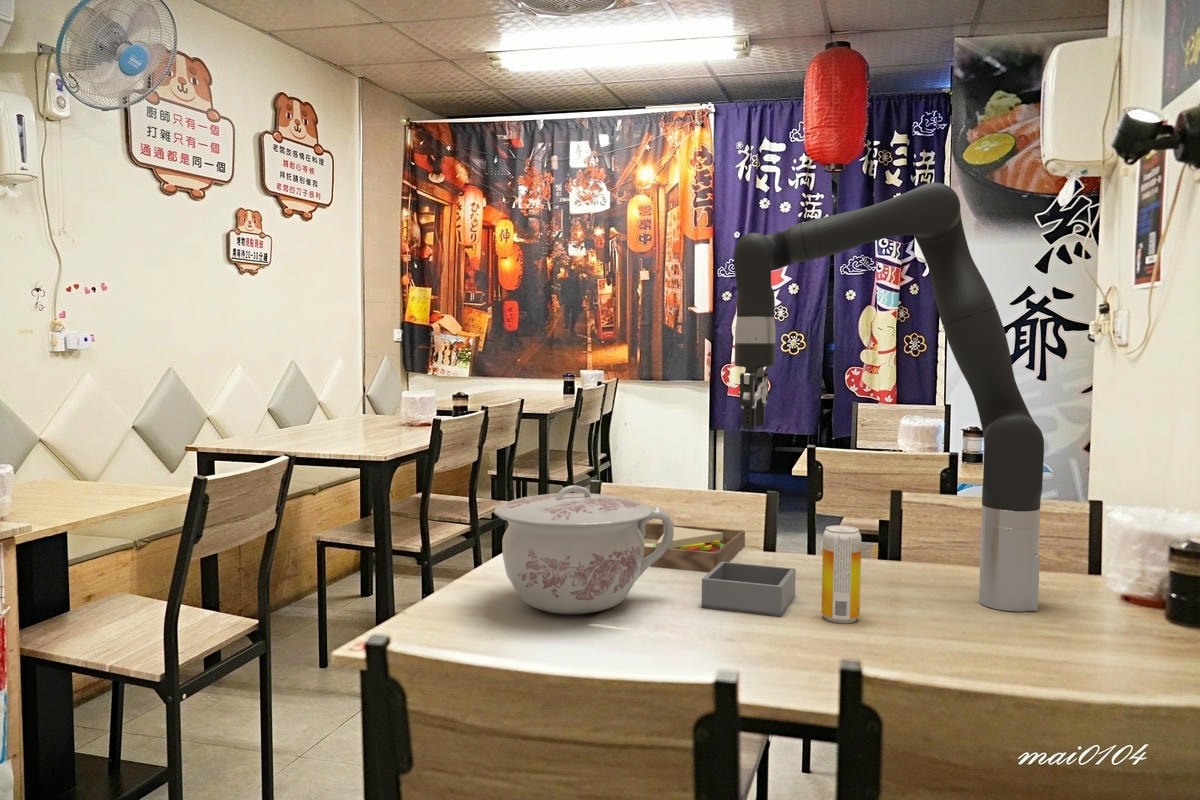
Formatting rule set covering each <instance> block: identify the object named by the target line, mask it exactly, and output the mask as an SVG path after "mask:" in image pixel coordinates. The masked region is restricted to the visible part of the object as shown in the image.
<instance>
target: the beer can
mask: <svg viewBox="0 0 1200 800" xmlns="http://www.w3.org/2000/svg"><path fill="white" fill-rule="evenodd" d="M821 565H822V566H821V567H822V568H821V572H822V573H821V575H822V576H821V578H822V579H821V614H822V615H823V616H824V619H825V620H826V621H828V622H832V623H836V624H852V623H855V622H856V621H857V619H858V618H859V617H860V614H861V613H860V609H861V608H860V607H861V577H862V576H861V574H862V571H861V570H862V566H861V565H862V535H861V533H860V529H859V528H857V527H855V526H850V525H828V526H826V527H825V530H824V532H823V534H822V564H821Z"/></svg>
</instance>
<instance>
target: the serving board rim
mask: <svg viewBox="0 0 1200 800" xmlns="http://www.w3.org/2000/svg"><path fill="white" fill-rule="evenodd" d="M673 527H680V528H688V529H696V530H705V531H713V532H721V533H723V540H720V543H721V544H723V546H722V547H720V549H719V550H717V551H716V552H704V551H693V550H682V549H672V548H668V549H667V550H666V552H665V553H664V554H663V556H662V557H661V558H659V559H658V560H657V561H655V562H654V563H653V564H652V565H650V566H651V567H650V568H658V569H659V568H660V569H672V570H681V571H682V570H683V571H691V572H692V571H693V572H701V573H709V572H710V571H711V570H712V569H714V568H715V567H716V566H717V565H718V564H719V563H720V562H732V560H733V559H734V558H735V557H736V556H738V554H739V553H740V552H741V551H742V550H743V549H744V548H745V547H746V530H744V529H741V530H740V529H729V528H717V527H706V526H705V527H704V526H695V525H694V526H693V525H692V526H691V525H681V524H673ZM663 533H664V525H663V523H655V522H647V523H646V525H645V535H646V536H645V537H644V539H645V540H656V541H658V540H659V539H660V537H661V536H662V535H663ZM656 548H657V547H654V546H648V545H644V558H646V557H647V556H649V555H650V554H652V553H653V552H654V550H655V549H656ZM739 551H740V552H739ZM738 552H739V553H738ZM737 553H738V554H737ZM644 558H643V559H644Z"/></svg>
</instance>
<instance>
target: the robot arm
mask: <svg viewBox="0 0 1200 800" xmlns="http://www.w3.org/2000/svg"><path fill="white" fill-rule="evenodd" d="M961 214H962V213H961V201H960V198H959V196H958V194H957V192H956V191H955V190H954V189H953V187H950V186H949V185H947V184H945V183H942V182H927V183H925V184H922V185H920V186H918V187H915V188H913V189H911V190H909V191H906V192H904V193H901V194H899V195H897V196H895V197H892V198H889V199H887V200H884V201H881V202H877V203H875V204H872V205H869V206H865V207H862V208H858V209H854V210H850V211H846V212H840V213H836V214H832V215H828V216H823V217H820V218H816V219H815V218H814V219H812V220H808V221H803V222H799V223H796V224H793V225H791V226H789V227H788V228H787V229H785V230H781V231H778V232H773V233H770V234H762V233H758V232H749V233H746V234H745V235H743V236H741V237H740V238H739V240H738V241H737V242H736V245H735V247H734V254H733V267H734V273H735V275H734V276H735V282H736V284H735V285H736V290H737V297H736V319H735V320H736V321H735V328H734V329H735V330H734V366H736V367H737V368H738V367H739V368H745V370H744V373H743V372H741V373H740V375H739V400H738V404H739V406H740V407H741V409H742V428H743V430H754V429H755V428H756V426H757V427H758V426H759V427H762V426H764V425H765V418H766V417H765V416H766V415H765V413H766V412H765V411H766V408H765V407H766V405H767V403H768V401H769V371H765V369H764V368H772V367H774V366H775V365H776V331H777V330H776V323H775V310H776V309H775V306H776V303H775V301H776V300H775V290H774V289H773V286H772V271H776V270H780V269H782V268H785V267H787V266H788V267H789V266H791V265H794V264H796V263H802V262H803V263H804V262H808V261H812V260H813V261H814V260H816V259H820V258H826V257H830V256H833V255H837V254H840V253H843V252H846V251H849V250H852V249H856V248H858V247H859V246H863V245H866V244H869V243H872V242H876V241H880V240H883V239H888V238H894V237H903V236H904V237H905V236H913V237H914V238H915V240H916V243H917V244H918V247H919V249H920V251H921V254H922V255H923V258H924V260H925V262H926V265H927V267H928V270H929V273H930V277H931V282H932V288H933V293H934V298H935V303H936V307H937V312H938V314H939V318H940V322H941V325H942V328H943V332H944V334H945V337H946V340H947V342H948V345H949V347H950V349H951V353H952V355H953V357H954V360H955V362H956V363H957V365H958V368H959V369H960V372H961V373H962V375H963V377H964V379H965V381H966V382H967V384H968V386H969V389H970V390H971V393H972V396H973V398H974V401H975V405H976V409H977V412H978V417H979V420H980V426H981V429H982V436H983V472H982V476H983V477H982V488H981V489H982V490H981V523H980V525H981V526H980V551H979V552H980V553H979V583H978V584H979V585H978V602H979V604H980V605H983V606H985V607H987V608H990V609H994V610H999V611H1006V612H1007V611H1008V612H1038V611H1039V593H1040V592H1039V591H1040V590H1039V589H1040V588H1039V587H1040V586H1039V585H1040V584H1039V583H1040V562H1041V561H1040V560H1041V559H1040V558H1041V556H1040V553H1039V551H1040V527H1041V525H1040V524H1041V523H1040V522H1041V500H1042V494H1043V493H1042V492H1043V481H1044V480H1043V479H1044V478H1043V477H1044V461H1045V459H1044V458H1045V441H1044V435H1043V432H1042V429H1040V427H1039V426H1038V424H1037V423H1036V422H1035V421H1034V419H1033V417H1032V416H1031V413H1030V411H1029V409H1028V407H1027V405H1026V402H1025V401H1024V399H1023V397H1022V394H1021V392H1020V389H1019V387H1018V383H1017V382H1016V378H1015V373H1014V368H1013V363H1012V357H1011V351H1010V347H1009V342H1008V337H1007V334H1006V331H1005V328H1004V326H1003V322H1002V318H1001V316H1000V314H999V310H998V308H997V305H996V302H995V301H994V298H993V295H992V293H991V292H990V289H989V287H988V285H987V283H986V281H985V279H984V278H983V276H982V274H981V273H980V270H979V268H978V267H977V265H976V263H975V262H974V259H973V257H972V255H971V252H970V248H969V246H968V241H967V236H966V234H965V230H964V229H965V228H964V224H963V220H962V215H961Z"/></svg>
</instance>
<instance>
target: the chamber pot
mask: <svg viewBox="0 0 1200 800" xmlns="http://www.w3.org/2000/svg"><path fill="white" fill-rule="evenodd" d="M493 514H495V516H497V517H498V518H499V519H501V520H503V521H507V523H508V525H507V528H506V530H505V532H504V534H503V536H502V541H501V543H502V544H501V545H502V553H501V555H502V558H503V563H504V568H505V575H506V576H507V578H508V580H509V581H510V583H511V585H512V586H513V588H514V589H515V590H516V592H517V595H518V597H520V598H521V600H522V601H524V602H525V603H526V604H527V605H528V606H530V607H532V608H535V609H538V610H541V611H543V612H547V613H551V614H556V615H567V616H575V615H578V616H579V615H590V614H594V613H600V612H602V611H605V610H609V609H611V608H614V607H617V606H618V605H619V604H620V603H622V602H623V601H624V600H625V599H626V597H627V596H628V595H629V593H630V592H631V590H632V588H633V587H634V585H635V583H636V582H637V581H638V579H639V578H640V577H641V576H642V575H643V573H645V571H646V570H647V569H648V568H650V567H649V566H650V565H652V564H653V563H654V562H655V561H657V560H658V559H659V558H661V557H662V556H663V554H664V553H665V552H666V550H667V549H668V548H669V546H670V545H671V543H672V540H673V536H674V529H673V525H674V522H673V520H672V518H671V517H670V515H669V513H668V512H667V511H666V510H665V509H662V508H661V507H660V506H654V507H653V508H652V506H650V505H648V504H645V503H643V502H641V501H636V500H634V499H632V498H626V497H624V496H623V497H622V496H617V495H609V494H601V493H591V491H590V490H589V489H588V488H586V487H584V486H582V485H576V484H573V485H568V486H565V487H563V488H562V489H560V491H558V493H557V492H556V493H546V494H539V495H529V496H523V497H520V498H515V499H512V500H510V501H505V502H502V503H501V504H499V505H497V506H495V508H494V509H493ZM652 520H661V521H662V524H663V525H664V535H663V539H662V542H661V543H660V544H659V545H658V547H657V548H656V549H655V550H654V552H653V553H652V554H650V555H649V556H647V557H646V558H644V546H646V545H645V540H646V539H644V537H645V536H646V535H645V525H646V523H649V521H652ZM643 558H644V559H643Z"/></svg>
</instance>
